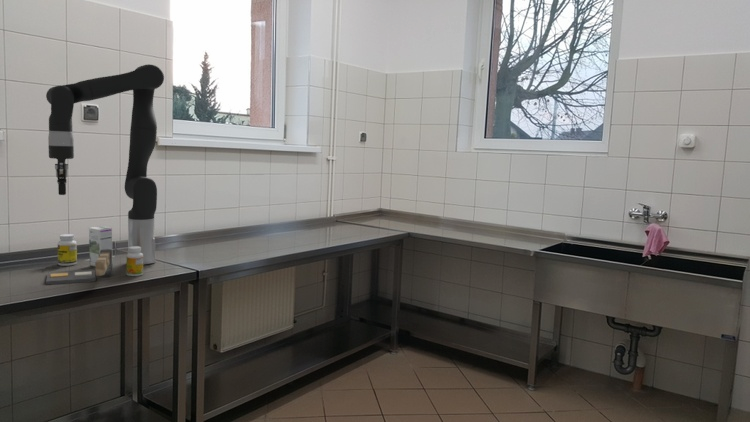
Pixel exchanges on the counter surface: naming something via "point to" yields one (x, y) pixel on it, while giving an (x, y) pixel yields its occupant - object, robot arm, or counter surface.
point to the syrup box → (99, 242)
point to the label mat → (70, 276)
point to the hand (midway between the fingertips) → (62, 194)
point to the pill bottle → (67, 250)
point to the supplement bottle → (134, 261)
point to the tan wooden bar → (103, 261)
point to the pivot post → (108, 271)
